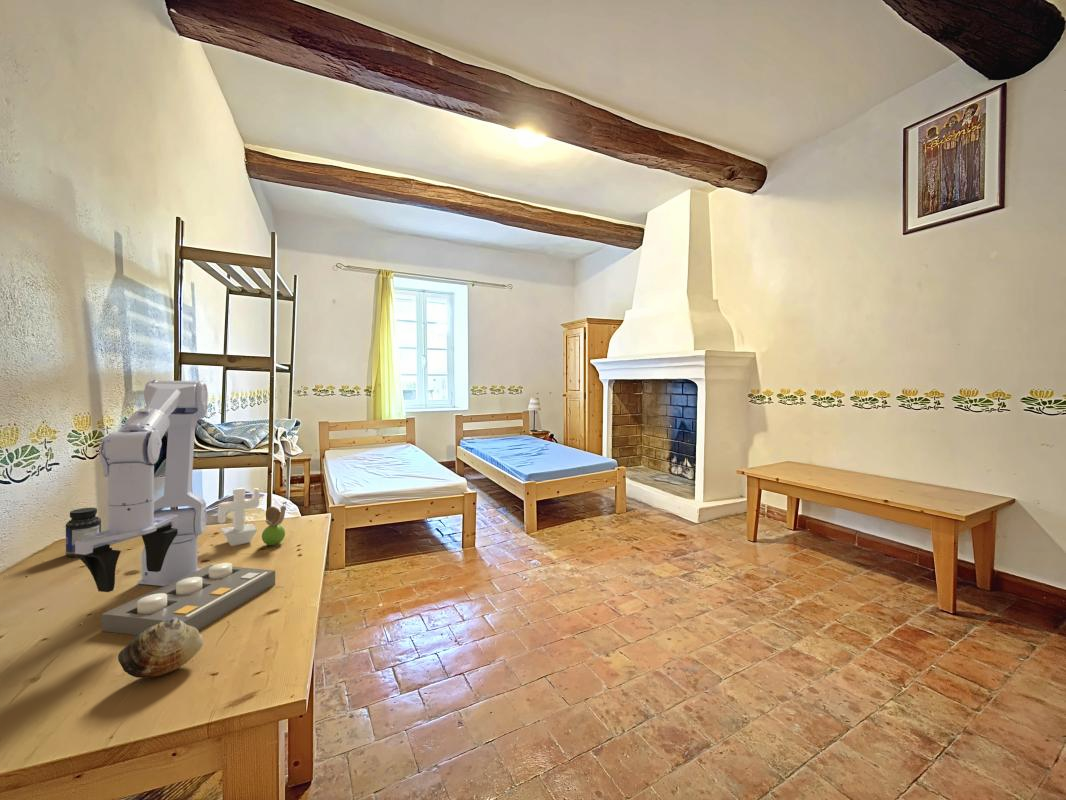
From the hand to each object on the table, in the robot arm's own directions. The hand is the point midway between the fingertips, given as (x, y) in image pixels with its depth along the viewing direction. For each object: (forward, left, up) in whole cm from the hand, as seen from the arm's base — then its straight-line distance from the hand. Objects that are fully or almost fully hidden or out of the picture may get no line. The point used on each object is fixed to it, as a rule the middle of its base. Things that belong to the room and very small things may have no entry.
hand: (131, 580), depth 72 cm
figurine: (-18, +42, -10) cm, 46 cm away
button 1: (0, +4, -8) cm, 9 cm away
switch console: (+2, +11, -9) cm, 14 cm away
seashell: (+15, -7, -10) cm, 19 cm away
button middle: (0, +11, -8) cm, 13 cm away
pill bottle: (-49, +28, -10) cm, 57 cm away
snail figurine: (-7, +42, -10) cm, 43 cm away
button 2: (0, +17, -8) cm, 19 cm away
